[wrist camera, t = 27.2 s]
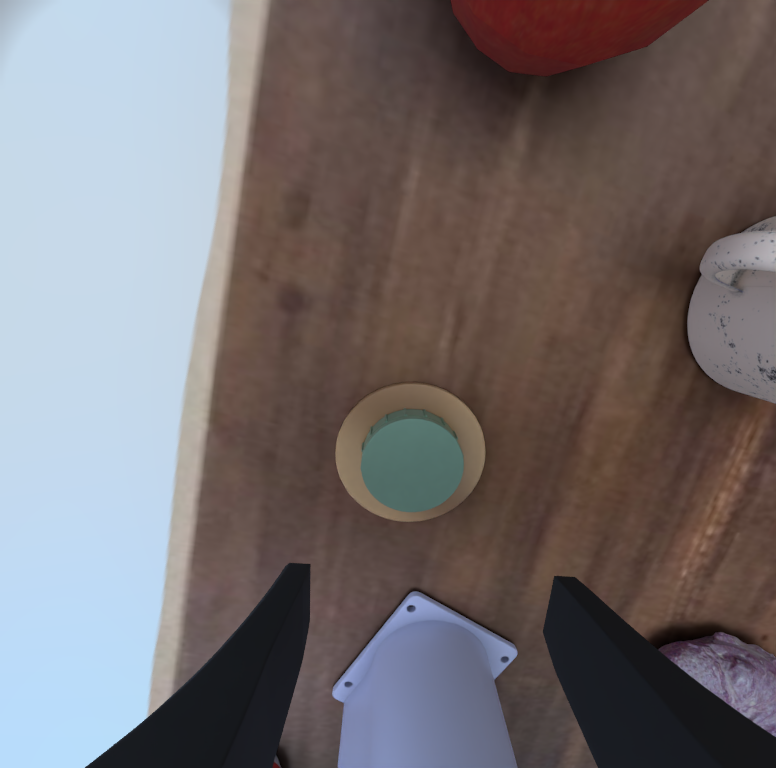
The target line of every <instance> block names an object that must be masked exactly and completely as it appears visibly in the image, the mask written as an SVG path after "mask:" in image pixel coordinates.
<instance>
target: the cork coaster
mask: <svg viewBox="0 0 776 768" xmlns="http://www.w3.org/2000/svg"><path fill="white" fill-rule="evenodd" d="M404 408H406V409H418V410H423V409H426V411H427V412H430V413H432V414H434V415H436V416H438V417H440V418H441V417H442V418H443V419H444V421H445V422H446V423H447V424H448V425H449V427H450V428H451V429H452V431H455V433H456V435H457V437H458V440H457V441H458V443H459V445H460V448H461V450H462V453H463V455H464V457H463V459H464V470H463V475H462V478H461V481H460V483H459V485H458V487H457V489H456V490H455V492H454V493H453V494H452V495H451V496H450V497H449V498H448V499H447V500H446V501H445V502H443V503H442V504H440V505H438V506H436V507H434V508H432V509H429V510H425V511H421V512H402V511H398V510H394V509H392V508H389V507H387V506H385V505H383V504H382V503H380V502H379V501H378V500H377V499H376V498H374V497H373V495H372V494H371V493H370V492H369V490H368V489H367V487H366V485H365V483H364V480H363V477H362V472H361V469H360V467H361V459H362V452H361V449H362V443H363V442H365V439H366V437H367V435H368V433H369V431H370V427H371V426H372V427H373V426H374V425H375V424H376V423H377V422H378V421H379V420H380V419H382V418H383V417H385V414H387V415H388V414H391V413H393V412H396V411H400V410H404ZM485 452H486V450H485V440H484V436H483V432H482V429H481V427H480V424H479V423H478V421H477V419H476V417H475V415H474V414H473V413H472V411H471V410H470V409H469V407H468V406H467V405H466V404H465V403H464V402H463V401H462V400H460V399H459V398H458V397H456V396H455V395H454V394H452V393H450V392H449V391H447V390H445V389H442V388H440V387H437V386H435V385H431V384H427V383H419V382H403V383H396V384H392V385H388V386H385V387H382V388H380V389H378V390H375V391H374V392H372V393H370V394H368V395H367V396H366V397H364V398H363V399H362V400H360V401H359V402H358V403H357V404H356V405H355V406H354V407H353V408H352V410H351V411H350V412H349V413H348V415H347V416H346V418H345V420H344V422H343V423H342V426H341V428H340V431H339V434H338V438H337V442H336V450H335V456H336V465H337V470H338V473H339V476H340V479H341V481H342V483H343V485H344V487H345V488H346V490H347V491H348V492H349V494H350V495H351V496H352V497H353V498H354V499H355V501H357V502H358V503H359V504H360V505H361V506H362V507H364V508H365V509H367V510H368V511H370V512H372V513H374V514H376V515H378V516H381V517H383V518H386V519H390V520H395V521H403V522H416V521H424V520H428V519H432V518H435V517H438V516H441V515H443V514H445V513H447V512H449V511H451V510H452V509H454V508H455V507H457V506H458V505H459V504H460V503H461V502H463V501H464V500H465V499H466V498H467V497H468V496H469V494H470V493H471V492H472V490H473V489H474V488H475V486H476V484H477V483H478V481H479V479H480V476H481V474H482V471H483V467H484V462H485Z"/></svg>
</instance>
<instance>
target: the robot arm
mask: <svg viewBox="0 0 776 768" xmlns="http://www.w3.org/2000/svg"><path fill="white" fill-rule="evenodd" d="M409 605H413V607H409ZM309 622H310V564H299V563H289V564H288V565H287V566H285V568H284V569H283V571H282V572H281V574H280V575H279V577H278V578H277V580H276V581H275V582H274V584H273V585H272V586H271V588H270V589H269V591H268V592H267V593H266V594H265V596H264V597H263V598H262V600H261V601H260V602H259V603H258V605H257V606H256V607H255V608H254V610H253V611H252V612H251V613H250V615H249V616H248V617H247V618H246V620H245V621H244V622H243V623H242V624H241V625H240V627H239V628H238V629H237V630H236V631H235V632H234V633H233V634H232V636H231V637H230V638H229V639H228V640H227V641H226V642H225V643H224V645H223V646H222V647H221V648H220V649H219V650H218V651H217V652H216V653H215V654H214V655H213V656H212V658H211V659H210V660H209V661H208V662H207V663H206V664H205V665H204V666H203V667H202V668H201V669H200V670H199V671H198V672H197V673H196V674H195V675H194V676H193V677H192V678H191V679H190V680H189V681H188V682H186V683H185V684H184V685H183V686H182V687H181V688H180V689H179V690H178V691H177V692H176V693H175V694H173V695H172V696H171V697H170V698H169V699H168V700H167V701H166V702H165V703H164V704H162V705H161V706H160V707H159V708H158V709H157V710H156V711H155V712H153V713H152V714H151V715H150V716H149V717H148V718H147V719H145V720H144V721H143V722H142V723H141V724H139V725H138V726H137V727H136V728H135V729H133V730H132V731H131V732H130V733H128V734H127V735H126V736H124V737H123V738H122V739H121V740H119V741H118V742H117V743H116V744H114V745H113V746H112V747H111V748H109V749H108V750H107V751H106V752H104V753H103V754H102V755H101V756H99V757H98V758H97V759H96V760H94V761H93V762H92V763H90V764H89V765H88V766H86V767H85V768H273V764H274V760H275V756H276V752H277V749H278V745H279V742H280V738H281V735H282V731H283V728H284V724H285V721H286V717H287V714H288V710H289V707H290V703H291V700H292V696H293V693H294V689H295V685H296V682H297V678H298V675H299V671H300V668H301V664H302V660H303V655H304V650H305V645H306V639H307V633H308V628H309ZM543 633H544V637H545V640H546V643H547V647H548V650H549V653H550V656H551V659H552V662H553V665H554V668H555V671H556V674H557V676H558V678H559V681H560V683H561V685H562V687H563V690H564V692H565V694H566V697H567V699H568V701H569V703H570V706H571V708H572V710H573V712H574V715H575V717H576V719H577V721H578V724H579V726H580V728H581V730H582V733H583V735H584V737H585V739H586V742H587V744H588V746H589V748H590V751H591V753H592V755H593V757H594V760H595V762H596V764H597V766H598V768H776V737H775V736H774V735H772V734H771V733H769V732H767V731H766V730H764V729H763V728H761V727H760V726H759V725H757V724H756V723H754V722H753V721H751V720H750V719H748V718H747V717H745V716H744V715H743V714H741V713H740V712H738V711H737V710H736V709H734V708H733V707H731V706H730V705H729V704H727V703H726V702H725V701H723V700H722V699H720V698H719V697H718V696H716V695H715V694H714V693H712V692H711V691H709V690H708V689H707V688H705V687H704V686H703V685H701V684H700V683H699V682H698V681H696V680H695V679H694V678H692V677H691V676H690V675H689V674H687V673H686V672H685V671H684V670H682V669H681V668H680V667H679V666H677V665H676V664H675V663H674V662H672V661H671V660H670V659H669V658H667V657H666V656H665V655H664V654H663V653H661V652H660V651H659V650H658V649H657V648H655V647H654V646H653V645H652V644H651V643H649V642H648V641H647V640H646V639H645V638H644V637H642V636H641V635H640V634H639V633H638V632H637V631H635V630H634V629H633V628H632V627H631V626H630V625H629V624H627V623H626V622H625V621H624V620H623V619H622V618H621V617H620V616H618V615H617V614H616V613H615V612H614V611H613V610H612V609H611V608H610V607H608V606H607V605H606V604H605V603H604V602H603V601H602V600H601V599H599V598H598V597H597V596H596V595H595V594H594V593H593V592H592V591H591V590H589V589H588V588H587V587H586V586H585V585H584V584H583V583H581V582H580V581H579V580H578V579H577V578H575V577H564V576H554V580H553V585H552V590H551V595H550V600H549V605H548V610H547V614H546V619H545V624H544V629H543ZM517 653H518V652H517V649H516V647H515V645H514V644H513V643H511V642H509V641H507V640H505V639H504V638H502V637H500V636H498V635H496V634H495V633H493V632H491V631H489V630H487V629H486V628H484V627H482V626H480V625H478V624H476V623H475V622H473V621H471V620H469V619H467V618H466V617H464V616H462V615H460V614H458V613H457V612H455V611H453V610H451V609H449V608H448V607H446V606H444V605H442V604H440V603H439V602H437V601H435V600H433V599H431V598H429V597H428V596H426V595H424V594H422V593H420V592H418V591H414V592H411V593H410V594H409V595H408V596H407V597H406V598H405V599H404V601H403V602H402V603H401V604H400V606H399V607H398V608H397V609H396V610H395V612H394V613H393V614H392V615H391V617H390V618H389V619H388V620H387V622H386V623H385V624H384V625H383V626H382V628H381V629H380V630H379V631H378V633H377V634H376V635H375V636H374V637H373V639H372V640H371V641H370V642H369V644H368V645H367V646H366V647H365V649H364V650H363V651H362V652H361V653H360V655H359V656H358V657H357V658H356V660H355V661H354V662H353V663H352V664H351V666H350V667H349V668H348V669H347V671H346V672H345V673H344V674H343V676H342V677H341V678H340V679H339V680H338V682H337V683H336V684H335V685H334V687H333V692H332V695H333V697H334V698H335V699H337V700H339V701H341V702H343V703H344V709H343V719H342V729H341V739H340V749H339V759H338V768H518V767H517V763H516V760H515V756H514V752H513V749H512V745H511V741H510V737H509V734H508V730H507V726H506V723H505V719H504V715H503V712H502V708H501V704H500V700H499V697H498V693H497V689H496V686H495V682H494V680H495V679H496V677H497V676H498V675H499V674H500V673H501V672H502V671H503V670H504V669H505V668H506V667H507V666H508V665H509V664H510V663H511V662H512V661H513V660H514V658H515V657H516V656H517ZM503 656H505V657H503Z"/></svg>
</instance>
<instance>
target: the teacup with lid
mask: <svg viewBox="0 0 776 768" xmlns="http://www.w3.org/2000/svg"><path fill="white" fill-rule="evenodd" d="M700 272H701V274H702V275H701V277H700V278H699V280H698V283H697V285H696V287H695V289H694V292H693V295H692V298H691V301H690V305H689V310H688V319H687V332H688V339H689V344H690V347H691V350H692V353H693V355H694V357H695V359H696V361H697V362H698V364H699V365H700V367H701V368H702V369H703V370H704V372H705V373H706V374H707V375H708V376H709V377H710V378H712V379H713V380H714V381H716V382H717V383H719V384H721V385H722V386H724V387H726V388H729V389H731V390H734V391H737V392H740V393H743V394H747V395H750V396H753V397H756V398H759V399H763V400H766V401H769V402H772V403H775V404H776V216H774V217H771V218H768V219H766V220H763V221H761V222H759V223H757V224H755V225H753V226H751V227H749V228H748V229H746V230H744V231H743V232H741V233H739V234H734V235H730V236H727V237H724V238H722V239H720V240H718V241H716V242H714V243H713V244H712V245H711V246H710V247H709V248H708V249H707V251H706V253H705V255H704V257H703V258H702V260H701V263H700Z"/></svg>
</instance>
